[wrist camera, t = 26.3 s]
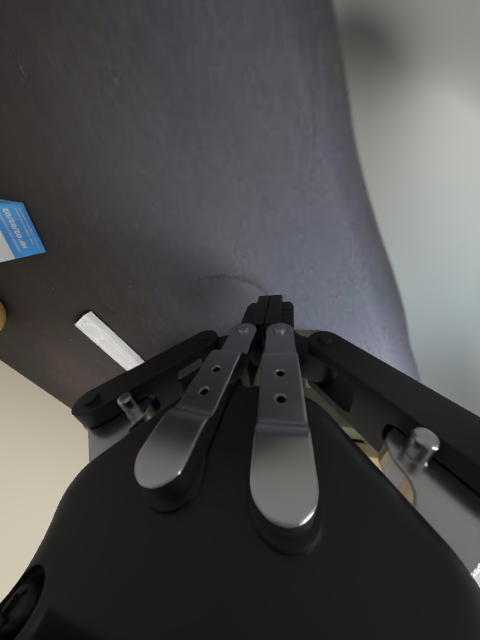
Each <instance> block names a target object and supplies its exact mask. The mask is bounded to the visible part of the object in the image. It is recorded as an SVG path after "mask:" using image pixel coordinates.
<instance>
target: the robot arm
mask: <svg viewBox="0 0 480 640" xmlns="http://www.w3.org/2000/svg"><path fill="white" fill-rule="evenodd" d="M197 360H200V362H201V365H202V366H201V367H200V368H198V369H196V370H195V371H193V372H192V373H190V374H188V375H187V376H185V377H184V378H182V379H178V374H179V372H180V371H181V370H182V369H184V368H185V367H187V366H189V365H190V364H192V363H194V362H195V361H197ZM261 360H262V365H261ZM260 370H261V377H260V386H256V384H257V380H258V377H259V373H260ZM302 378H304V379H307V382H308V384H309V385H310V386H311V387H312V388H313V389H314V390H315V391H316V392H317V393H318V394H319V395H320V396H321V397H322V398H323V399H324V400H325V401H326V402H327V403H328V404H329V405H330V406H331V407H332V408H333V409H334V410H335V411H336V412H337V413H338V414H339V415H340V416H341V417H342V418H343V419H344V420H345V421H346V422H347V423H348V424H349V425H350V426H351V427H352V428H353V429H354V430H356V431H357V432H358V433H359V434H360V435H361V436H362V437H363V438H364V439H365V440H366V441H367V442H368V443H369V444H370V445H371V446H372V447H373V448H374V449H375V450H376V451H377V452H378V453H379V454H378V460H379V465H380V467H381V469H382V471H383V473H384V474H383V473H382V471H381V470H380V469H379V468H378V467H377V466H376V465H375V464H374V463H373V462H372V461H371V459H370V458H369V457H368V456H367V455H366V454H365V453H364V452H363V451H362V450H361V449H360V447H359V446H358V445H357V444H356V443H355V442H354V441H353V440H352V439H351V438H350V437H349V435H348V434H347V433H346V432H345V431H344V430H343V429H342V428H341V427H340V426H339V424H338V423H337V422H336V421H335V420H334V419H333V418H332V417H331V416H330V415H329V414H328V413H327V411H326V410H325V409H323V408H322V407H321V406H320V405H319V404H317V403H316V402H315V401H313V400H311V399H310V398H308V397H306V396H304V392H303V385H302ZM72 414H73V415H74V416H75V417H76V418H77V419H78V420H79V421H80V422H81V423H82V424H83V426H84V427H85V429H86V430H88V437H89V461H90V463H89V464H87V466H85V467H84V469H82V470H81V472H80V473H79V474H78V475H77V477H75V479H74V480H73V481H72V483H71V484H70V485H69V487H68V488H67V490H66V492H65V493H64V495H63V497H62V499H61V501H60V502H59V505H58V507H57V510H56V512H55V514H54V517H53V519H52V522H51V524H50V526H49V528H48V530H47V533H46V535H45V537H44V539H43V541H42V542H41V544H40V546H39V548H38V550H37V552H36V554H35V555H34V557H33V559H32V561H31V562H30V564H29V566H28V567H27V569H26V571H25V572H24V574H23V575H22V576H21V578H20V579H19V581H18V582H17V584H16V585H15V586H14V587H13V589H12V590H11V591H10V593H9V594H8V595H7V596H6V598H4V600H3V601H2V602H1V603H0V640H480V588H479V586H478V584H477V583H476V581H475V580H474V577H475V576H476V574H477V573H478V572H479V571H480V417H478V416H477V415H475V414H473V413H471V412H470V411H468V410H466V409H464V408H463V407H461V406H459V405H458V404H456V403H454V402H452V401H451V400H449V399H447V398H445V397H444V396H442V395H440V394H439V393H437V392H435V391H433V390H432V389H430V388H428V387H426V386H425V385H423V384H421V383H419V382H418V381H416V380H414V379H412V378H411V377H409V376H407V375H405V374H404V373H402V372H400V371H399V370H397V369H395V368H393V367H392V366H390V365H388V364H386V363H385V362H383V361H381V360H379V359H378V358H376V357H374V356H372V355H371V354H369V353H367V352H365V351H364V350H362V349H360V348H359V347H357V346H355V345H353V344H352V343H350V342H348V341H346V340H345V339H343V338H341V337H339V336H338V335H336V334H334V333H331V332H327V331H318V332H314V333H312V334H311V335H310V336H309V337H306V336H302V335H300V334H298V333H297V332H295V330H294V308H293V304H292V303H291V302H283V300H282V295H271V296H259V299H258V302H257V303H252V304H251V305H249V306H248V308H247V310H246V312H245V315H244V317H243V320H242V322H241V324H240V325H237V326H235V327H234V328H233V329H232V331H231V332H230V334H229V335H227V336H222V337H218V335H217V333H216V332H215V331H210V330H209V331H203V332H201V333H199V334H197V335H195V336H193V337H191V338H189V339H187V340H185V341H183V342H182V343H180V344H178V345H176V346H174V347H172V348H170V349H168V350H166V351H164V352H163V353H161V354H159V355H157V356H155V357H153V358H151V359H149V360H147V361H145V362H144V363H142V364H140V365H138V366H136V367H134V368H132V369H130V370H128V371H126V372H125V373H123V374H121V375H119V376H117V377H115V378H113V379H111V380H109V381H107V382H106V383H104V384H102V385H100V386H98V387H96V388H94V389H92V390H90V391H89V392H87V393H86V394H84V395H83V396H82V397H80V398H79V399H78V400H77V401H76V403H75V404H74V405H73V407H72Z"/></svg>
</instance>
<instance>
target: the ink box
mask: <svg viewBox="0 0 480 640" xmlns="http://www.w3.org/2000/svg"><path fill="white" fill-rule="evenodd" d="M45 252H46V250H45V248H44V246H43V244H42V242H41V240H40V238H39V236H38V234H37V232H36V230H35V227H34V225H33V223H32V221H31V219H30V217H29V215H28V213H27V211H26V209H25V206H24V204H23V203H22V202H15V201H9V200H3V199H0V262H4V261H9V260H13V259H18V258H22V257H27V256H31V255H36V254H41V253H45Z"/></svg>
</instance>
